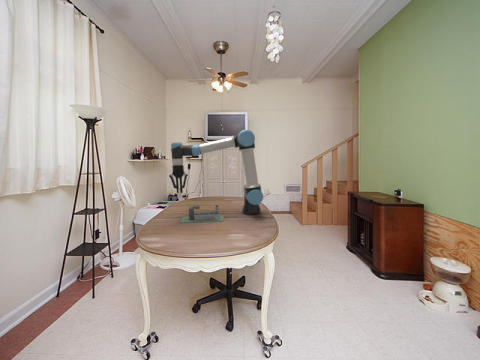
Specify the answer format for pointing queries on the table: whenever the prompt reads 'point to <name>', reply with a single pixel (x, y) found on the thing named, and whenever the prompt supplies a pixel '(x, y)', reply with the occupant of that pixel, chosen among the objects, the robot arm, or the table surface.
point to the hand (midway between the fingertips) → (180, 197)
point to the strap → (205, 209)
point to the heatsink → (206, 215)
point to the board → (186, 220)
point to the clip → (192, 212)
